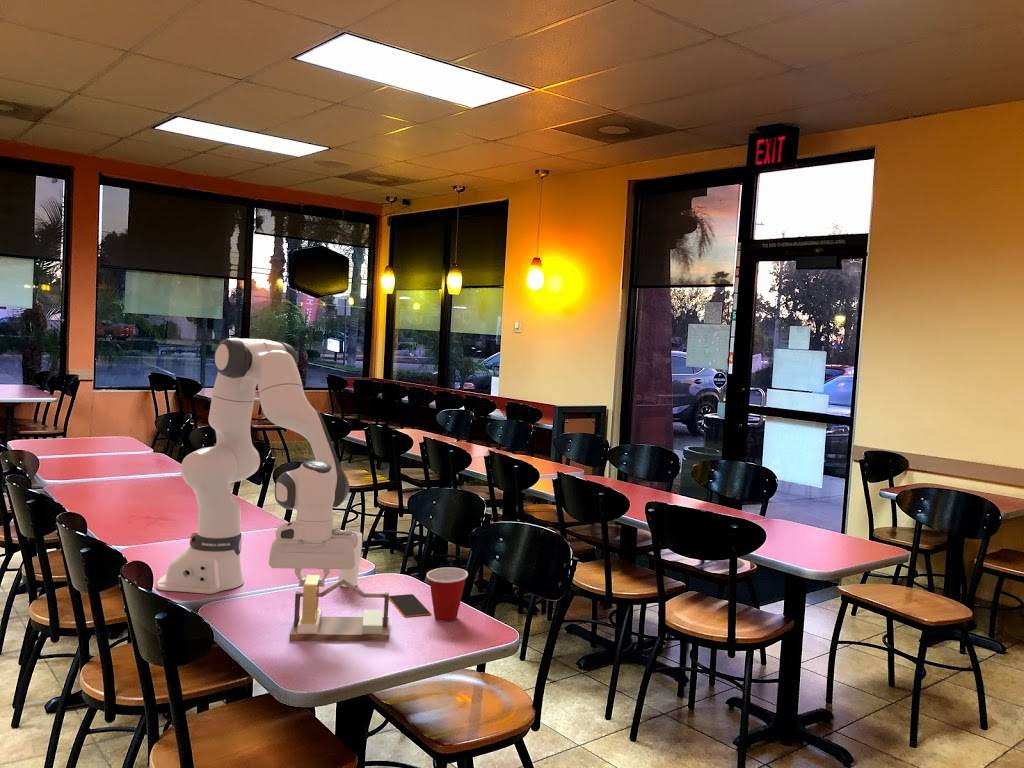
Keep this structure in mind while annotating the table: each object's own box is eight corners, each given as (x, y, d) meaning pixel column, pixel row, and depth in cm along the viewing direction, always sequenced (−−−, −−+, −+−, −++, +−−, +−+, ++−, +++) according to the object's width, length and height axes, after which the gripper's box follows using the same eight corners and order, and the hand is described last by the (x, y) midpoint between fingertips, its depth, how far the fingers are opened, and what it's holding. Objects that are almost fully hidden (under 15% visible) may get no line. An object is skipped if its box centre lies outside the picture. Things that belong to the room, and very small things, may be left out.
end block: (362, 633, 193) (362, 625, 193) (363, 617, 204) (363, 609, 204) (381, 633, 194) (382, 625, 194) (382, 617, 205) (382, 609, 205)
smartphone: (404, 619, 210) (404, 615, 210) (387, 598, 226) (387, 595, 226) (432, 616, 214) (432, 613, 213) (413, 596, 229) (413, 593, 229)
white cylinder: (333, 582, 235) (335, 531, 234) (356, 580, 238) (359, 530, 237) (338, 589, 229) (341, 537, 228) (362, 588, 232) (365, 536, 231)
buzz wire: (289, 640, 190) (291, 586, 190) (295, 622, 202) (297, 570, 202) (388, 640, 194) (391, 587, 193) (388, 622, 206) (391, 572, 205)
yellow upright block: (300, 623, 192) (302, 586, 192) (304, 610, 201) (306, 574, 200) (315, 623, 193) (317, 586, 192) (318, 610, 201) (320, 575, 201)
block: (297, 633, 191) (297, 625, 191) (302, 617, 202) (302, 609, 202) (317, 633, 192) (317, 625, 192) (321, 617, 203) (321, 609, 203)
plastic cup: (416, 614, 213) (418, 569, 212) (451, 608, 220) (453, 564, 219) (437, 628, 204) (440, 581, 204) (473, 621, 211) (476, 575, 210)
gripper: (358, 527, 200) (355, 582, 201) (272, 525, 197) (270, 581, 198) (357, 533, 194) (354, 590, 195) (269, 531, 191) (266, 589, 192)
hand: (311, 586), depth 196 cm, fingers closed on yellow upright block, 3 cm apart
